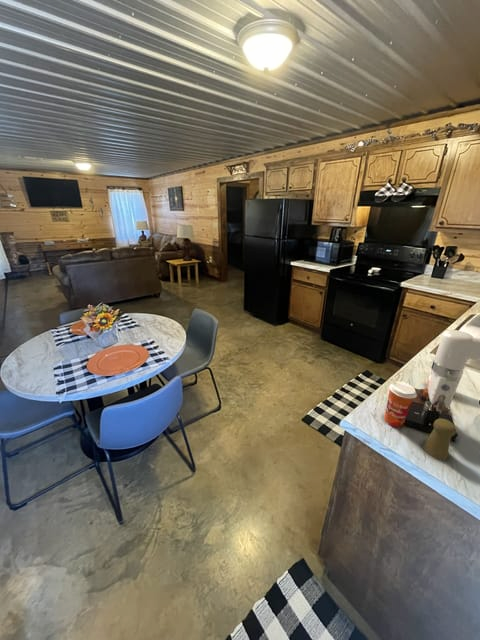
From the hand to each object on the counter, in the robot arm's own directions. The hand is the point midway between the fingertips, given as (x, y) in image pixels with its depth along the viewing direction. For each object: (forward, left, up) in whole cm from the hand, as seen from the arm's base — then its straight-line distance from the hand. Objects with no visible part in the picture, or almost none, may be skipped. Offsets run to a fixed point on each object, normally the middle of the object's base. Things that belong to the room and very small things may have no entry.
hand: (429, 414), depth 88 cm
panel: (0, 0, -4) cm, 4 cm away
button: (-1, -13, 0) cm, 13 cm away
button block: (-1, -13, -4) cm, 14 cm away
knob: (0, 0, -1) cm, 1 cm away
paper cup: (+10, +4, -4) cm, 12 cm away
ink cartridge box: (-7, -25, -4) cm, 26 cm away
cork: (-1, +12, -4) cm, 13 cm away
